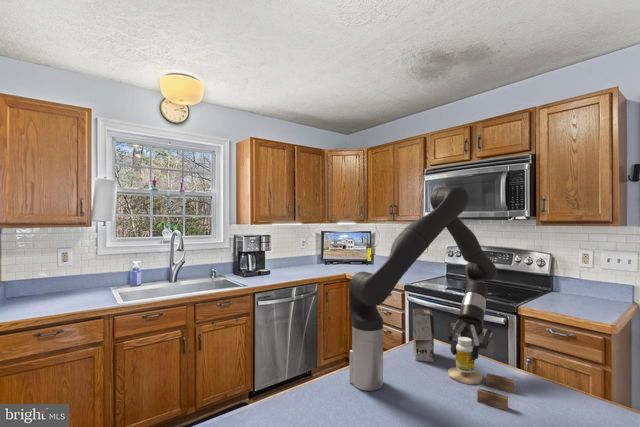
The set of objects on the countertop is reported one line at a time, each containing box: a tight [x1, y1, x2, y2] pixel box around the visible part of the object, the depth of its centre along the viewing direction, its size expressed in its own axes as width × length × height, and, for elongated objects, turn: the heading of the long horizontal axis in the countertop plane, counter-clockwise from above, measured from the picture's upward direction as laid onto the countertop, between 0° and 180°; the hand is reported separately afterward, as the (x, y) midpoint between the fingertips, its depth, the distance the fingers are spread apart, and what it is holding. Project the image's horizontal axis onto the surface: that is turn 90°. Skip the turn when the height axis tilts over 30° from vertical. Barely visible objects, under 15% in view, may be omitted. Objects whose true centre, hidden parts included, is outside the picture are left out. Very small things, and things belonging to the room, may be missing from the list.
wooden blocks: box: [476, 372, 515, 412], centre depth 93 cm, size 7×13×3 cm, turn 142°
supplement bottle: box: [455, 337, 475, 373], centre depth 105 cm, size 5×5×10 cm
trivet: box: [447, 366, 483, 385], centre depth 104 cm, size 10×10×1 cm
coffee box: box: [412, 308, 435, 363], centre depth 120 cm, size 9×6×16 cm
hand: (463, 356), depth 103 cm, fingers closed on supplement bottle, 5 cm apart
